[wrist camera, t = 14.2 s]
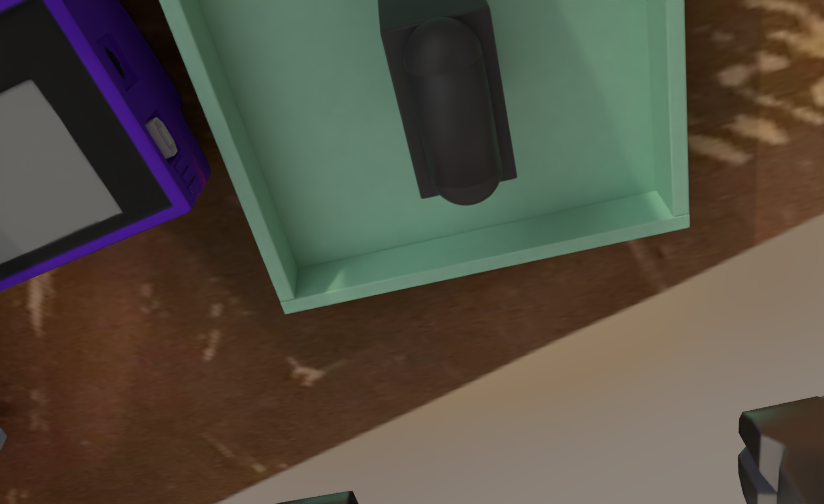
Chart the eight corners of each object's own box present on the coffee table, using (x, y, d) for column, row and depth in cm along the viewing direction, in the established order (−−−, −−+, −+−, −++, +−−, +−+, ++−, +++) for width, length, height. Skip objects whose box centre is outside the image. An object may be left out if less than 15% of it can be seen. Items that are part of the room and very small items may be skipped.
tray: (103, -209, 22) (76, -201, 20) (643, -354, 21) (677, -363, 19) (289, 274, 32) (284, 314, 29) (666, 192, 30) (690, 227, 28)
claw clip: (373, -34, 24) (380, 47, 18) (461, -55, 24) (497, 19, 18) (409, 116, 27) (425, 229, 21) (488, 98, 27) (527, 207, 21)
